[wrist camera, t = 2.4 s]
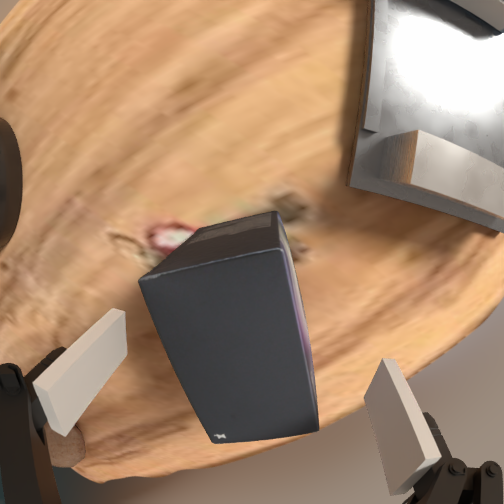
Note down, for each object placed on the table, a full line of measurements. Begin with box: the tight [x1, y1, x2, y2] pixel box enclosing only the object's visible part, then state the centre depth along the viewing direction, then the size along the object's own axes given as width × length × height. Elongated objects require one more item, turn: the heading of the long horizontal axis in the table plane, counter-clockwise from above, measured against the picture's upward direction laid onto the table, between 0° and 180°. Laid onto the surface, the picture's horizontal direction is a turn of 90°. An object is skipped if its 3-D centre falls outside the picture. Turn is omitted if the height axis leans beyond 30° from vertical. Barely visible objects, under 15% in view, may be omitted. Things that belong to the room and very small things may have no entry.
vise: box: [346, 0, 504, 233], centre depth 13 cm, size 16×25×6 cm, turn 171°
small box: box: [138, 211, 319, 444], centre depth 17 cm, size 11×6×10 cm, turn 14°
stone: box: [44, 421, 86, 467], centre depth 28 cm, size 12×9×10 cm
